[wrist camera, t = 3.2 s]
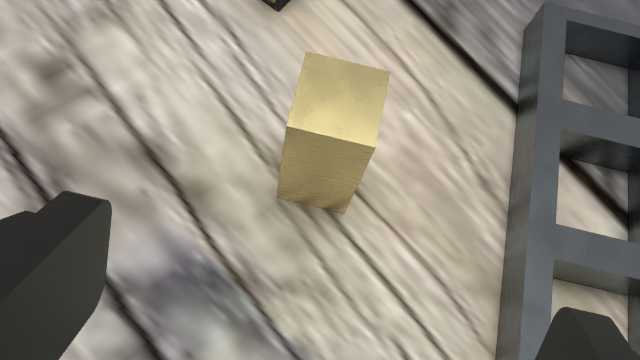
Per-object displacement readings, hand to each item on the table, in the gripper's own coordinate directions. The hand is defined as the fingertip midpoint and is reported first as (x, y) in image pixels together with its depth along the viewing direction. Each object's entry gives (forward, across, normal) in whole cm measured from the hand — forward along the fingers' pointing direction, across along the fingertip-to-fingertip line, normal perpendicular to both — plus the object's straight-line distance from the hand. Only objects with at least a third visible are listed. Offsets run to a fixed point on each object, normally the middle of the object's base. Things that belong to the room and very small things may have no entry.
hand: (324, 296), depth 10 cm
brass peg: (+24, 0, +7) cm, 25 cm away
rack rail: (+25, -16, +6) cm, 30 cm away
